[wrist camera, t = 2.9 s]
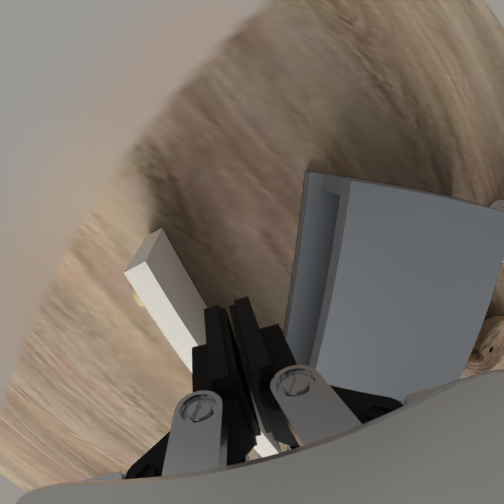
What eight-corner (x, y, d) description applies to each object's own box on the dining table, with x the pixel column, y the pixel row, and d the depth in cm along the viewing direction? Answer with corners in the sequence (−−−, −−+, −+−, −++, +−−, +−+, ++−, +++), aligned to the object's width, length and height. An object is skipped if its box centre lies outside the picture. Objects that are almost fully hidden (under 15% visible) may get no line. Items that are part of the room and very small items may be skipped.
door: (267, 403, 26) (284, 460, 20) (245, 412, 26) (258, 470, 20) (162, 227, 20) (145, 261, 14) (133, 242, 20) (107, 281, 14)
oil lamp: (514, 305, 30) (540, 321, 25) (494, 355, 32) (516, 373, 27) (454, 311, 27) (485, 334, 23) (431, 370, 29) (455, 396, 25)
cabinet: (398, 387, 29) (431, 430, 22) (270, 404, 27) (288, 462, 20) (453, 196, 23) (512, 214, 17) (305, 171, 21) (350, 181, 14)
